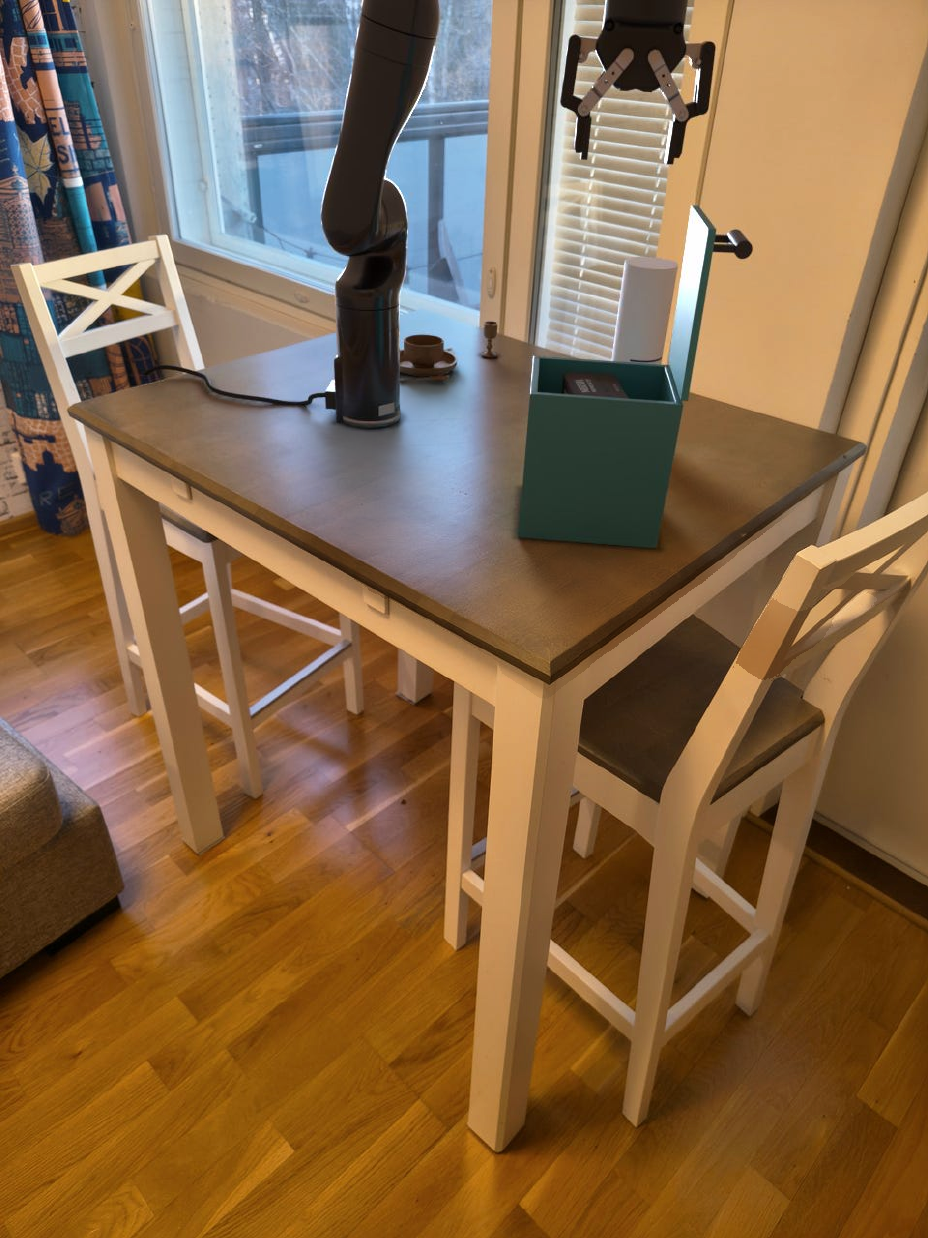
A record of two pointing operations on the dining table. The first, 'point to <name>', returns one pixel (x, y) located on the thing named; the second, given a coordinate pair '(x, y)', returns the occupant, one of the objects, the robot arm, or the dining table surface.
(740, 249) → the cool box lid
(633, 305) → the cylindrical container
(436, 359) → the place setting
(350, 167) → the robot arm
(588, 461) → the teal open box
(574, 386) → the coffee box
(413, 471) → the dining table surface
